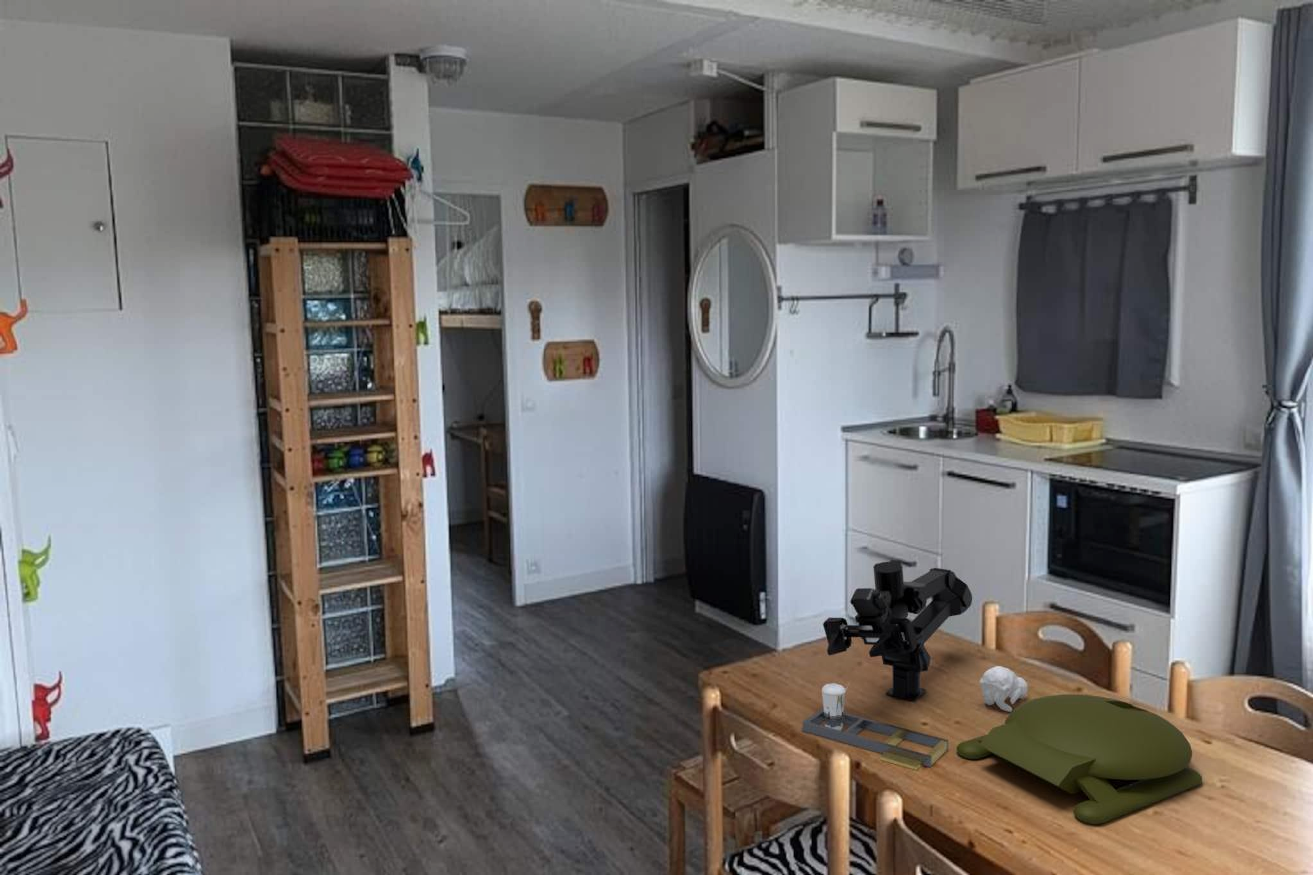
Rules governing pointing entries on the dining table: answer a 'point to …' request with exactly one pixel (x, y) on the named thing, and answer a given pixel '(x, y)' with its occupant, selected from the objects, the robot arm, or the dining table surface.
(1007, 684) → the white bear figurine
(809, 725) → the rail
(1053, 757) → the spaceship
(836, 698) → the milkshake
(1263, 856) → the dining table surface
